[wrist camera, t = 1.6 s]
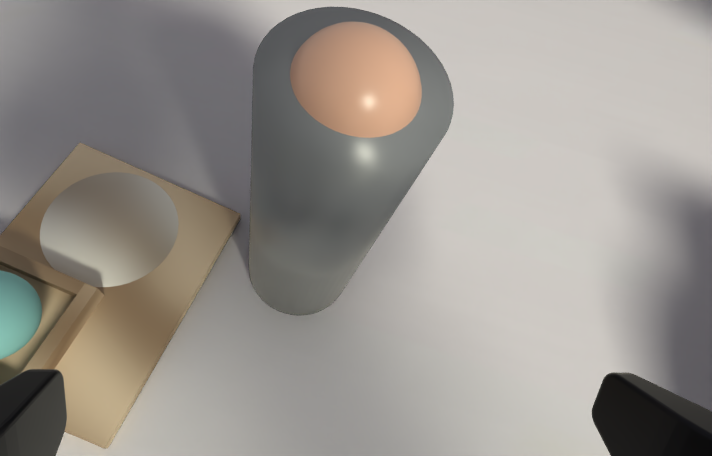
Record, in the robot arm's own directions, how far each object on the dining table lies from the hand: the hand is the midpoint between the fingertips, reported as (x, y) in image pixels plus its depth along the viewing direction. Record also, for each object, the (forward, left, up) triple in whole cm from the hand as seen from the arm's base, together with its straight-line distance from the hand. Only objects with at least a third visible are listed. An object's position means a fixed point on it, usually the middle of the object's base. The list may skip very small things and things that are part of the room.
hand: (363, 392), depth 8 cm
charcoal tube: (+6, +2, -13) cm, 14 cm away
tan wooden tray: (+2, +10, -12) cm, 16 cm away
